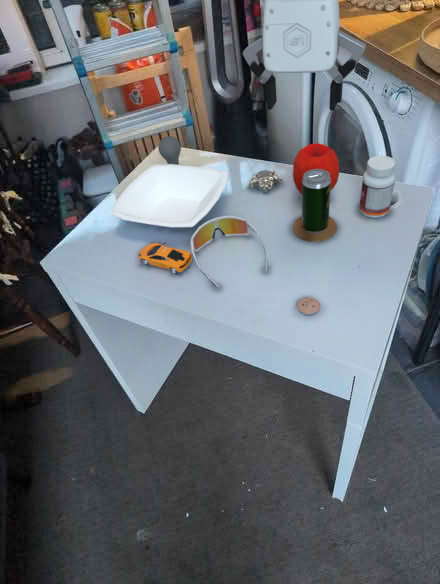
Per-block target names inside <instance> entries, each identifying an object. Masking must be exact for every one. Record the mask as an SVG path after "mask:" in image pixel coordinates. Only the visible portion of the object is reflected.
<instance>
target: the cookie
mask: <svg viewBox="0 0 440 584" xmlns="http://www.w3.org/2000/svg"><path fill="white" fill-rule="evenodd" d="M296 307H297V310H298V311H299V312H300V313H302V314H305V315H313V314H316V313H318V312H319V311H320V309H321V303H320V301H319V300H318V299H316V298H314V297H310V296H306V297H302V298H300V299H298V300H297V303H296Z"/></svg>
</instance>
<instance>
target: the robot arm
mask: <svg viewBox="0 0 440 584" xmlns="http://www.w3.org/2000/svg"><path fill="white" fill-rule="evenodd" d="M340 25H341V24H340V2H339V0H264V3H263V20H262V37H259V39H257V40H256V41H254V42H253V43H251V44H249V45H248V46H246V48H245V49H243V51H242V55H243V58H244V59H245V62H246V63H247V65H248V66H249V69H250V71H251V72H252V73H253V74H254V75H255V77H257V78H258V80H259V82H260V83H261V84H262V94H263V95H262V96H263V102H264V103H266V110H267V111H271V110H273V108H274V106H275V105H276V103H277V100H278V99H277V82H276V81H277V79H276V77H275V75H274V74H303V73H304V74H306V73H313V74H314V73H324V72H327V74H328V75H329V76H330V78H332V80H331V82H330V85H329V106H328V107H329V111H330V112H334V111H335V110H336V108H337V105H338V104H341V103H342V100H343V87H344V86H343V85H344V79H346V77H347V76H349V74H350V73H352V72H353V70H355V68H356V66H358V65H357V64H358V63H359V61H360V60H361V58H362V56H363V54H364V52H365V50H366V46H367V45H366V44H365V43H364V42H363V41H360V40H359V39H358V38H355V37H353V36H351V35H349V34H348V33H346V32H343V31H342V30H340V27H341V26H340ZM340 47H342V48H344V49H345V50H347V51H349V52H351V55H350V56H349V58H348V60H347V61H345V63H342V62H341V61H340V60H339V58H338V56H339V53H340ZM261 51H262V57H263V58H262V59H263V62H261V60H259V58H258V56H257V54H258V53H259V52H261Z"/></svg>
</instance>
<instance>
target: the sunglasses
mask: <svg viewBox="0 0 440 584" xmlns="http://www.w3.org/2000/svg"><path fill="white" fill-rule="evenodd" d="M250 230H251V231H252V232H253V233H254V234H256V235H257V237H258V238H259V240H260V242H261V244H262V247H263V250H264V255H265V256H264V257H265V268H264V269H265V272H267V271H268V252H267V247H266V244H265V242H264V240H263V238H262V236H261V234H260V231H258V230H257V228H256V227H255V226H254V225H253V224H252V223H251V222H250V221H249V220H248V219H247V218H243V217H239V216H236V215H222V216H217V217H214V218H211V219H209V220H207V221H205V222H204V223H202V224H201V225H199V226H198V227H197V228H196V230H195V232H194V233H193V234H192V235H191V238H190V242H189V243H190V250H191V255H192V257H193V259H194V261H195V264H196V266H197V268H198V269H199V271H200V272H201V273H202V275H204V277H205V278H206V279H207V280H208V281H209V282H210V283H212V285H213V286H215V288H219V287H220V286H219V285H218V284H217V283H216V282H215V281H214V280H213V279H211V277H210V276H209V275H208V274H207V273H206V272H205V270H204V269H203V268H202V266H201V265H200V264H199V262H198V260H197V257H196V253H198V252H199V251H200V250H201V249H202V248H203V247H206V245H208V244H209V243H211V242H213V240H214V239H215V235H216V232H217V231H219V232H220V233H221V234H222V235H223V236H225V237H235V236H237V237H238V236H239V237H240V236H249V235H250Z"/></svg>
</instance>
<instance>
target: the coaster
mask: <svg viewBox="0 0 440 584" xmlns="http://www.w3.org/2000/svg"><path fill="white" fill-rule="evenodd" d="M337 229H338V225H337V222H336V220H335V219H333V217H331V216H329V223H328V227H327V228H326V230H325V231H324V232H322V233H319V234H311V233H308V232H306V231H305V230H304V228H303V226H302V215H301V216H299V217H298V218H296V219H295V220H294V222H293V224H292V232H293V234H294V236H295V237H296V238H298V239H299V240H302V241H305V242H309V243H320V242H323V241H327V240H329V239H330V238H332V237H333V236H334V235H335V234H336V233H337Z"/></svg>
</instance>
